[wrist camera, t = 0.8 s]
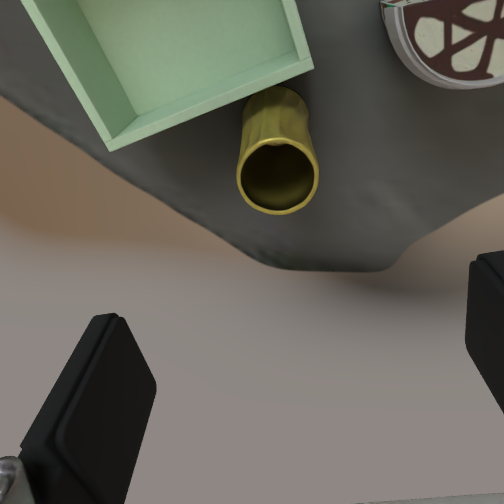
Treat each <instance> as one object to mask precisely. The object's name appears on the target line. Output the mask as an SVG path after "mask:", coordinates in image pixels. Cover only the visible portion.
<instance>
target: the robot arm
mask: <svg viewBox="0 0 504 504" xmlns="http://www.w3.org/2000/svg"><path fill="white" fill-rule="evenodd" d="M465 344H466V348H467V351H468V353H469V355H470V357H471V358H472V360H473V362H474V363H475V365H476V367H477V369H478V370H479V372H480V374H481V375H482V377H483V379H484V381H485V382H486V384H487V386H488V387H489V389H490V391H491V393H492V394H493V396H494V398H495V399H496V401H497V403H498V404H499V406H500V408H501V410H502V411H503V413H504V251H503V250H502V251H496V252H490V253H484V254H479V255H478V256H477V259H476V261H472V262H471V263H470V266H469V282H468V299H467V314H466V330H465ZM155 395H156V381H155V379H154V377H153V375H152V373H151V371H150V369H149V367H148V365H147V363H146V361H145V359H144V357H143V355H142V353H141V351H140V349H139V347H138V345H137V343H136V341H135V339H134V337H133V334H132V332H131V331H130V328H129V326H128V325H127V322H126V320H125V319H124V318H123V317H119V316H118V315H117V314H116V313H109V314H103V315H96V316H94V317H93V318H92V319H91V321H90V323H89V325H88V327H87V328H86V330H85V332H84V334H83V335H82V337H81V339H80V341H79V342H78V344H77V346H76V348H75V349H74V351H73V353H72V355H71V357H70V358H69V360H68V362H67V363H66V365H65V367H64V369H63V371H62V372H61V374H60V376H59V378H58V379H57V381H56V383H55V385H54V386H53V388H52V390H51V392H50V394H49V395H48V397H47V399H46V401H45V402H44V404H43V406H42V408H41V409H40V411H39V413H38V415H37V416H36V418H35V420H34V422H33V424H32V425H31V427H30V429H29V430H28V432H27V434H26V436H25V438H24V440H23V441H22V443H21V445H20V447H21V448H22V451H21V452H20V454H19V456H18V458H17V457H15V456H5V457H2V458H0V504H124V502H125V499H126V495H127V492H128V488H129V485H130V481H131V478H132V474H133V471H134V467H135V464H136V461H137V457H138V454H139V450H140V447H141V443H142V440H143V437H144V433H145V430H146V426H147V423H148V419H149V416H150V412H151V409H152V406H153V402H154V399H155ZM358 504H504V493H496V494H495V493H494V494H479V495H464V496H451V497H438V498H424V499H411V500H398V501H385V502H371V503H358Z"/></svg>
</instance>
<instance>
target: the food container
mask: <svg viewBox="0 0 504 504" xmlns="http://www.w3.org/2000/svg"><path fill="white" fill-rule="evenodd" d="M379 4H380V12H381V18H382V21H383V23H384V25H385V28H386V30H387V32H388V35H389V38H390V41H391V43H392V45H393V47H394V49H395V52H396V54H397V55H398V56H399V58H400V59H401V61H402V62H403V63H404V65H405V66H406V67H407V68H408V69H409V70H410V71H411V72H412V73H413V74H415V75H416V76H418V77H419V78H421V79H422V80H424V81H425V82H428V83H430V84H433V85H435V86H438V87H443V88H448V89H464V90H465V89H476V88H484V87H490V86H494V85H497V84H501V83H504V0H384V1H380V2H379Z"/></svg>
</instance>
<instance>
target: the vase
mask: <svg viewBox="0 0 504 504" xmlns="http://www.w3.org/2000/svg"><path fill="white" fill-rule="evenodd" d="M308 121H309V115H308V110H307V107H306V105H305V103H304V101H303V99H302V98H301V97H300V96H299V95H298V94H297V93H295V92H294V91H292V90H290V89H288V88H286V87H282V86H271V87H268V88H266V89H263V90H261V91H258V92H256V93H255V94H254V95H253V96H252V97H251V98H250V99H249V100H248V102H247V104H246V106H245V108H244V111H243V115H242V125H243V127H242V141H241V149H240V155H239V160H238V164H237V171H236V178H237V186H238V189H239V191H240V193H241V195H242V197H243V198H244V200H245V201H246V202H247V203H248V204H249V205H250V206H251V207H253V208H254V209H256V210H258V211H261V212H264V213H267V214H271V215H285V214H290V213H292V212H295V211H296V210H298V209H300V208H302V207H304V206H305V205H306V204H307V203H308V202H309V201H310V200H311V199H312V197H313V196H314V194H315V192H316V190H317V187H318V180H319V165H318V161H317V158H316V155H315V152H314V149H313V145H312V141H311V138H310V135H309V133H308Z"/></svg>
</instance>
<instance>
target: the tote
mask: <svg viewBox="0 0 504 504" xmlns="http://www.w3.org/2000/svg"><path fill="white" fill-rule="evenodd" d="M21 2H22V3H23V5H24V7H25V9H26V10H27V12H28V14H29V15H30V17H31V19H32V20H33V22H34V24H35V26H36V27H37V29H38V31H39V32H40V34H41V36H42V38H43V39H44V41H45V43H46V44H47V46H48V48H49V49H50V51H51V53H52V55H53V56H54V58H55V60H56V61H57V63H58V65H59V66H60V68H61V70H62V72H63V73H64V75H65V77H66V78H67V80H68V82H69V84H70V85H71V87H72V89H73V90H74V92H75V94H76V95H77V97H78V99H79V101H80V102H81V104H82V106H83V107H84V109H85V111H86V112H87V114H88V116H89V118H90V119H91V121H92V123H93V124H94V126H95V128H96V130H97V131H98V133H99V135H100V136H101V138H102V140H103V141H104V142H105V145H106V147H107V148H108V150H109V152H112V151H114V150H116V149H119V148H121V147H124V146H126V145H129V144H131V143H134V142H136V141H138V140H141V139H143V138H146V137H148V136H151V135H153V134H156V133H158V132H160V131H163V130H165V129H168V128H170V127H173V126H175V125H178V124H180V123H182V122H185V121H187V120H190V119H192V118H195V117H197V116H200V115H202V114H204V113H207V112H209V111H212V110H214V109H217V108H219V107H222V106H224V105H226V104H229V103H231V102H234V101H236V100H239V99H241V98H244V97H246V96H248V95H251V94H253V93H256V92H258V91H261V90H263V89H266V88H268V87H270V86H273V85H275V84H278V83H280V82H283V81H285V80H288V79H290V78H292V77H295V76H297V75H300V74H302V73H305V72H307V71H310V70H312V69H314V65H313V62H312V58H311V55H310V51H309V48H308V44H307V41H306V37H305V34H304V30H303V27H302V23H301V20H300V17H299V13H298V10H297V6H296V3H295V0H21Z"/></svg>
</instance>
